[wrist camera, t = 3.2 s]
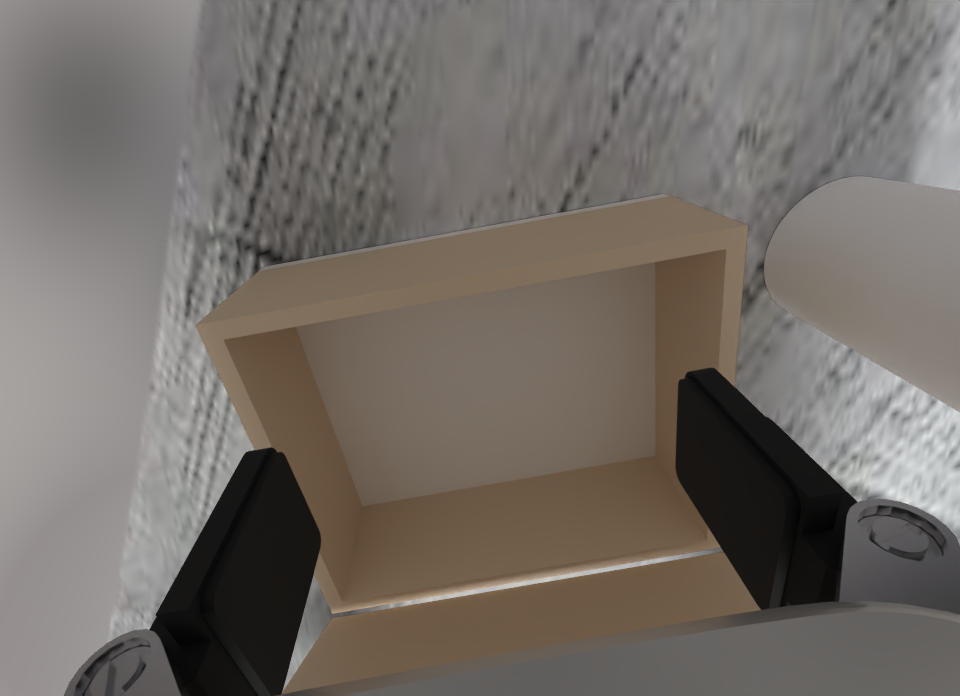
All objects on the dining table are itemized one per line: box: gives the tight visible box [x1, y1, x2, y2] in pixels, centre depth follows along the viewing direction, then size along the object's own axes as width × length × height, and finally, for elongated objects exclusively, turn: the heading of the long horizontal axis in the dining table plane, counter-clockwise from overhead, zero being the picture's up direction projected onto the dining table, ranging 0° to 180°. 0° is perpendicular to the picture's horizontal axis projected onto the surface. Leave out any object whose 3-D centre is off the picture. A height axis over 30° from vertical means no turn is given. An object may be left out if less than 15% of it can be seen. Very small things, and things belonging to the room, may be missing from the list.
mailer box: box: [195, 194, 748, 614], centre depth 26 cm, size 22×18×8 cm
